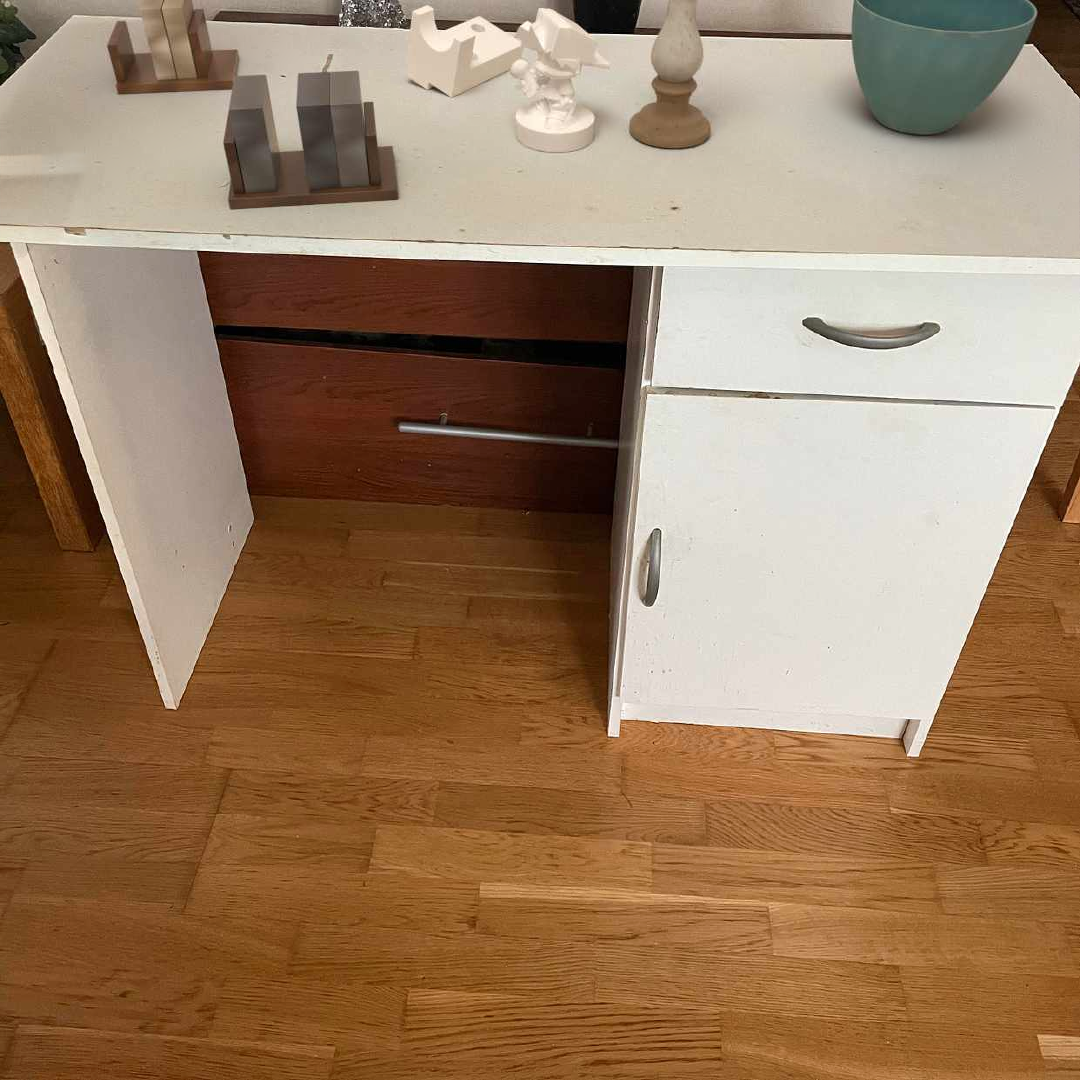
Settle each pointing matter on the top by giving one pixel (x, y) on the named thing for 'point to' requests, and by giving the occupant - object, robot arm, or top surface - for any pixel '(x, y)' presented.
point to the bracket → (457, 53)
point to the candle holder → (674, 84)
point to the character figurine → (554, 84)
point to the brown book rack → (171, 52)
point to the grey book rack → (306, 145)
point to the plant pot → (934, 57)
